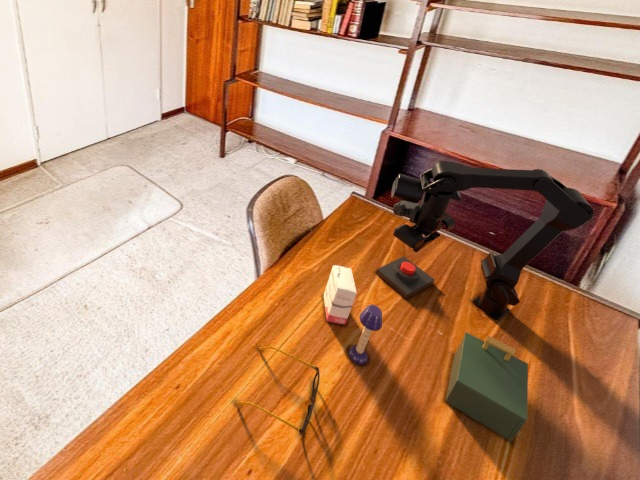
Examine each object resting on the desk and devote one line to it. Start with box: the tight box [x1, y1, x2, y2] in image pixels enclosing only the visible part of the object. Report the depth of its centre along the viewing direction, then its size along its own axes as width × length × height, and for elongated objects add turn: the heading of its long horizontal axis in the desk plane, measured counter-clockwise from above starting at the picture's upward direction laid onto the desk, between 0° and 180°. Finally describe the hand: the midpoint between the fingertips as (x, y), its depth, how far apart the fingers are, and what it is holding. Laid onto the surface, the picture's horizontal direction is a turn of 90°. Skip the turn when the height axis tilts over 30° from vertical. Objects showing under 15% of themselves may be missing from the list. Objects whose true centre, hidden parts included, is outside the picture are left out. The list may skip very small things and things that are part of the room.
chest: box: [445, 337, 526, 442], centre depth 85 cm, size 14×12×7 cm
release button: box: [400, 262, 416, 275], centre depth 114 cm, size 4×4×2 cm
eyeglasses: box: [235, 346, 321, 436], centre depth 85 cm, size 14×14×4 cm
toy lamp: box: [348, 304, 383, 366], centre depth 90 cm, size 5×5×17 cm
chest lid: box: [456, 331, 529, 423], centre depth 83 cm, size 14×12×4 cm
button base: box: [375, 256, 435, 299], centre depth 115 cm, size 12×10×4 cm
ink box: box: [323, 264, 358, 325], centre depth 103 cm, size 9×5×12 cm, turn 168°
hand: (415, 251), depth 111 cm, fingers closed
